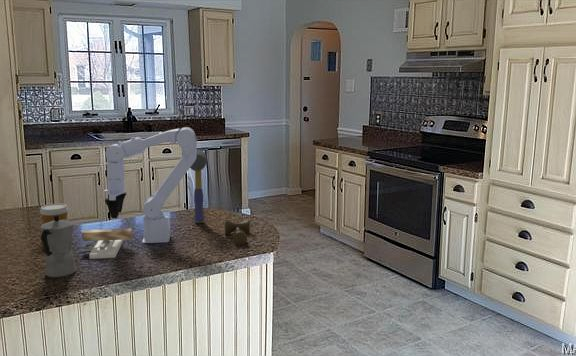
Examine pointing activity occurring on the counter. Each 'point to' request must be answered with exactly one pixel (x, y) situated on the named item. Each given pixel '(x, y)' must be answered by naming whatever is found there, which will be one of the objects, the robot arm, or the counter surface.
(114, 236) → the oak bar
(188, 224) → the counter surface
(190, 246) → the counter surface
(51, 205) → the disposable coffee cup
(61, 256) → the coffeepot
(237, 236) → the kendama
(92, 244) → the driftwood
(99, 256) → the ridge block
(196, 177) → the rubber mallet
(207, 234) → the counter surface
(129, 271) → the counter surface
